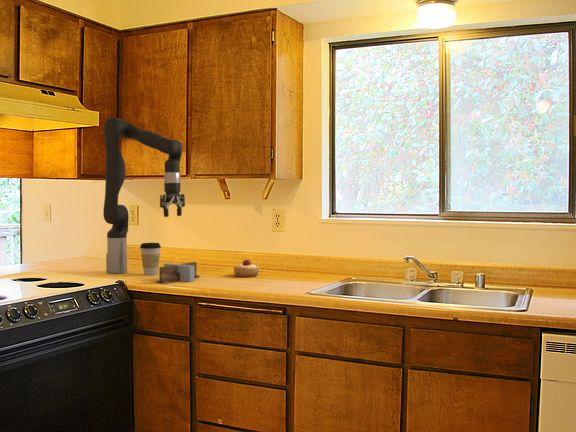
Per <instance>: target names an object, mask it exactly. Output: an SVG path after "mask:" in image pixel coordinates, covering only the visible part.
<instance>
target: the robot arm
mask: <svg viewBox="0 0 576 432" xmlns="http://www.w3.org/2000/svg"><path fill="white" fill-rule="evenodd" d="M103 131H104V143H105V185H104V186H105V189H104V191H105V193H104V203H103V212H102V213H103V215H102V217H103V219H104V221H105V223H107V224H109V225H112V226H111V228H110V229H109V231H107V233H106V240H107V241H106V242H107V243H106V244H107V251H106V253H105V261H106V262H105V263H106V264H105V266H106V273H108V274H125V273H127V272H128V244H127V243H128V238H127V236H128V233H129V232H128V231H129V221H130V219H129V218H130V217H129V211H128V208H127V207H126V206H125V205H123V204H119V195H120V192H121V189H122V187H123V185H124V182H125V179H126V163H125V160H124V157H123V154H122V152H121V148H120V138H126V139H131V140H133V141H136V142H138V143H140V144H142V145H144V146H146V147H149V148H152V149H154V150H157V151H160V153H162V154H166V155H168V157H167V160H165V162H164V176H163V181H164V183H163V184H164V185H163V186H164V187H163V189H164V193H165V194H160V195H159V208H162V209H163V217H164V218H168V217H169V207H170V206H171V205H172V204H173V205H175V206H176V216H177V217H182V213H183V211H182V209H183V208H184V207H185V206H186V199H185V196H186V195H185V194H184V193H183V194H182V193H181V173H180V171H181V168H180V167H181V166H180V163H181V160H182V155H183V145H182V143H181V141H180V140H177V139H171V138H167V137H163V136H162V135H161V134H158V133H155V132H152V131H150V130H146V129H143V128H140V127H138V126H136V125H134V124H132V123H130V122H128V121H127V120H125V119H124V118H120V117H119V118H118V117H115V116H113V117H112V116H111V117H108V118H107V119H106V120H105V122H104V127H103Z"/></svg>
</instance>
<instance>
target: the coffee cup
mask: <svg viewBox="0 0 576 432" xmlns="http://www.w3.org/2000/svg"><path fill="white" fill-rule="evenodd" d="M139 248H140V252H141V254H140V255H141V263H142V268H143V275H144V276H147V277H148V276H150V277H152V276H158V272H159V267H160V265H159V264H160V256H161V253H160V252H161V248H162V246H161V244H160V242H143V243H141V244H140V247H139Z"/></svg>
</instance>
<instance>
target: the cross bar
mask: <svg viewBox="0 0 576 432" xmlns="http://www.w3.org/2000/svg"><path fill="white" fill-rule="evenodd" d="M182 264H183V263H172V262H171V263H170V262H168V263H166V262H165V263H164V264H163V267H165V266H171V265H176V273H180V280H179V281H180V282H184V281H187V282H186V283H193V282H192V281H194V282H195V281H196V280H195V279H196V278H195V266H192V265H182Z"/></svg>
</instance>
